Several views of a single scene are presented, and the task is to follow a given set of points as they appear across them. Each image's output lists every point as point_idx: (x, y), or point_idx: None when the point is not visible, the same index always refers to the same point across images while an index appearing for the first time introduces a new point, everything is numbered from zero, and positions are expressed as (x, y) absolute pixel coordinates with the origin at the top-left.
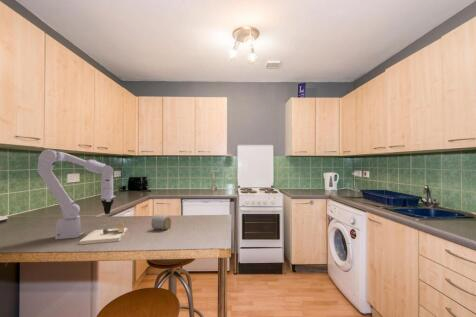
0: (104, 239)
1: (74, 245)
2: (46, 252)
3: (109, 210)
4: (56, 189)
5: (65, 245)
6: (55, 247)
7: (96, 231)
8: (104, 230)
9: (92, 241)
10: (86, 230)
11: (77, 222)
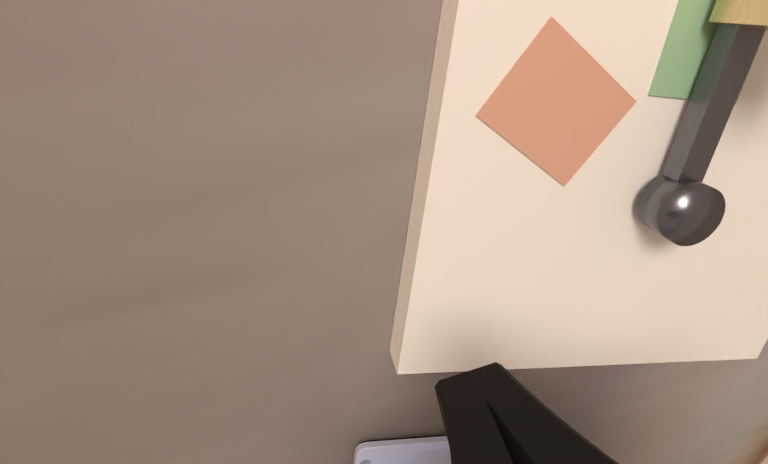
0: None
1: (728, 364)
2: (763, 457)
3: (549, 427)
4: None
5: (683, 421)
6: (688, 458)
7: (478, 328)
8: (718, 223)
9: None
10: (217, 461)
11: None
